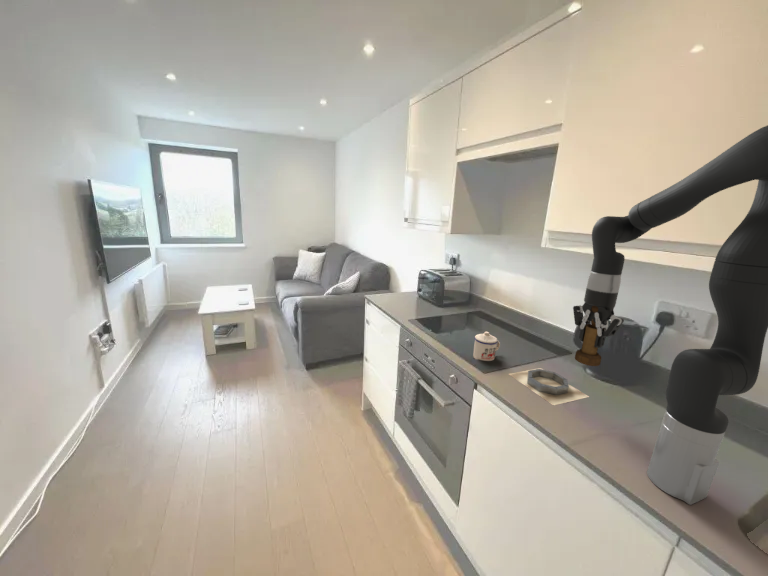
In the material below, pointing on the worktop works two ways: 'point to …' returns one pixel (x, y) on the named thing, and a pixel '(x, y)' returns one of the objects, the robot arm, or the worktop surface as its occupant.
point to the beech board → (552, 399)
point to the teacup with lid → (485, 347)
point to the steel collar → (546, 388)
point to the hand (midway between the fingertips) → (590, 343)
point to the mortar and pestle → (589, 345)
